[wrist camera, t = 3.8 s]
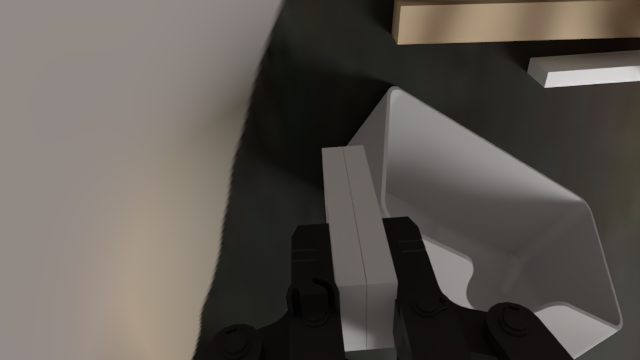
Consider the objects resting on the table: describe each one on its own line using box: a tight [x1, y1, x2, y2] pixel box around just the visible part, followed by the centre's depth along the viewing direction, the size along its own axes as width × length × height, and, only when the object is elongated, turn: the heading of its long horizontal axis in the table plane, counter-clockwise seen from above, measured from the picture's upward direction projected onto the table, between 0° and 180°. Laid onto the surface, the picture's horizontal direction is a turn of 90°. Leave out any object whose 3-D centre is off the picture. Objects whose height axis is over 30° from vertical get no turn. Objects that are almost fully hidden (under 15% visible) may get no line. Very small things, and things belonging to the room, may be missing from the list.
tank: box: [326, 86, 623, 359], centre depth 38 cm, size 25×16×12 cm, turn 58°
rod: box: [392, 0, 640, 44], centre depth 32 cm, size 18×3×3 cm, turn 91°
